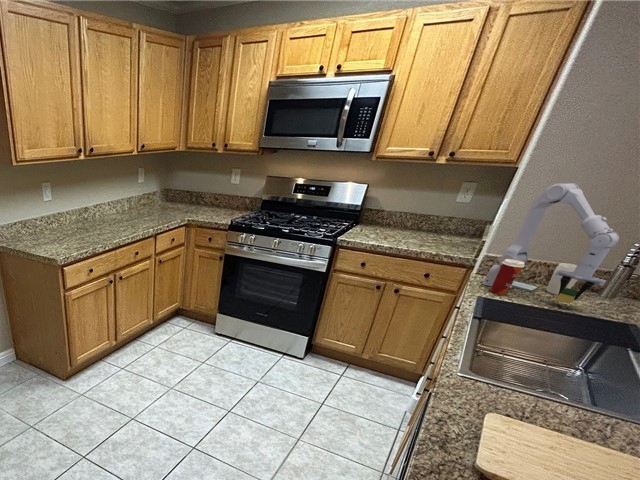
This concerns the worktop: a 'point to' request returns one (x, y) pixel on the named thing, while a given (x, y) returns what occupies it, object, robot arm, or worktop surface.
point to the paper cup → (506, 276)
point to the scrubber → (567, 295)
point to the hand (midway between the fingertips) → (567, 297)
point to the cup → (555, 280)
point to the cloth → (523, 286)
